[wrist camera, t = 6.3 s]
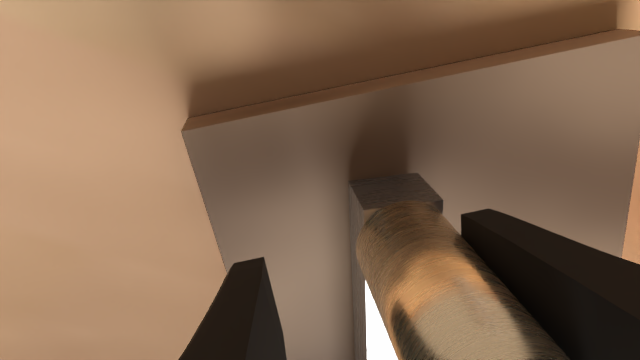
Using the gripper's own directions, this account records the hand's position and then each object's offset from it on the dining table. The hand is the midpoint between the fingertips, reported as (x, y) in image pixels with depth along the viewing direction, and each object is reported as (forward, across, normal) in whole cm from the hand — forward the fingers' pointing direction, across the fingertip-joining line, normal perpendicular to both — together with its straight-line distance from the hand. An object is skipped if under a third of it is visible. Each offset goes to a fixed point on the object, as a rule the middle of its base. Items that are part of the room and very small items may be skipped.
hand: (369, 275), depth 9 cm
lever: (+3, 0, +7) cm, 7 cm away
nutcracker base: (+4, -3, +7) cm, 8 cm away
